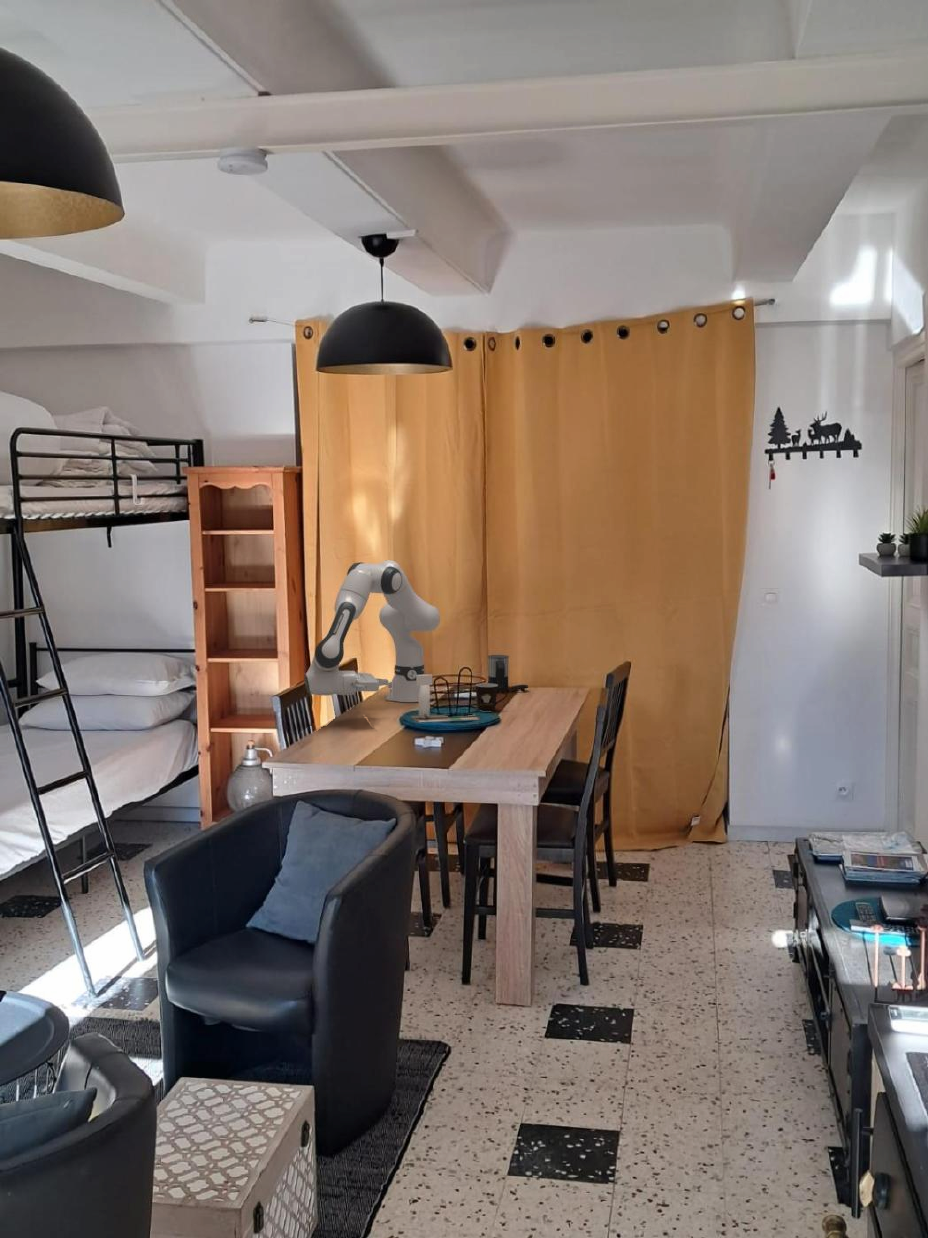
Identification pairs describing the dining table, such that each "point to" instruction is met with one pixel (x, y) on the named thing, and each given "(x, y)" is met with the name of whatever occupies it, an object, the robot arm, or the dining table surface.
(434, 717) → the tuner board
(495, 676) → the milk frother
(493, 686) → the coffee mug
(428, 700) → the peg
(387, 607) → the robot arm
